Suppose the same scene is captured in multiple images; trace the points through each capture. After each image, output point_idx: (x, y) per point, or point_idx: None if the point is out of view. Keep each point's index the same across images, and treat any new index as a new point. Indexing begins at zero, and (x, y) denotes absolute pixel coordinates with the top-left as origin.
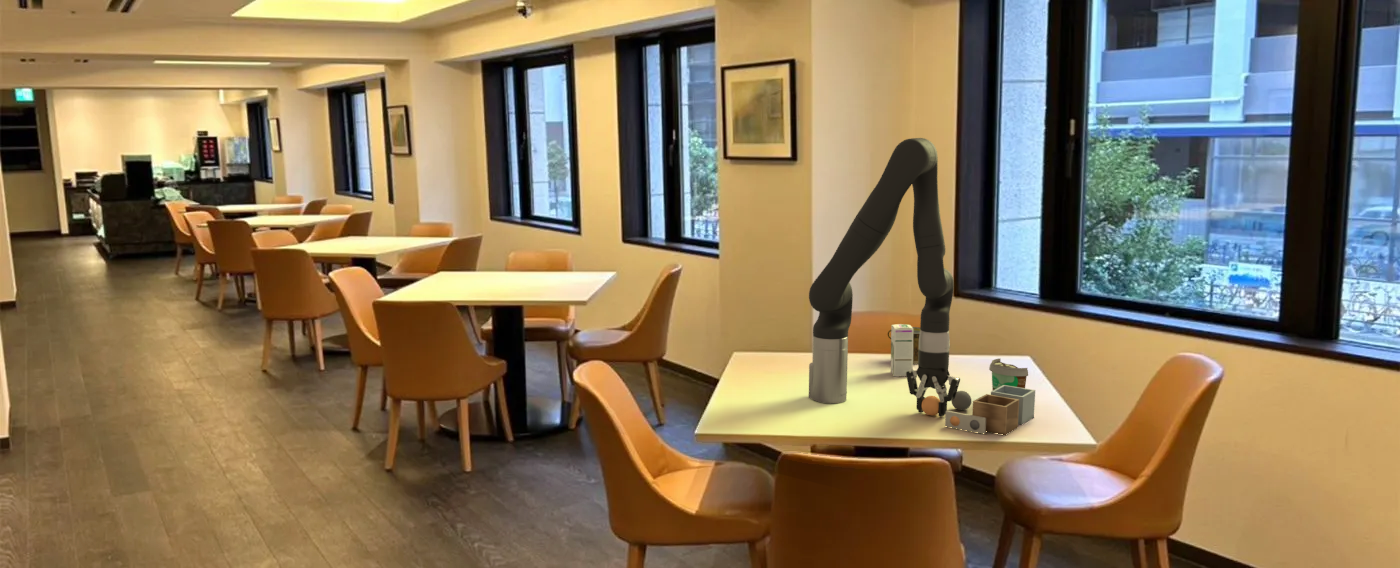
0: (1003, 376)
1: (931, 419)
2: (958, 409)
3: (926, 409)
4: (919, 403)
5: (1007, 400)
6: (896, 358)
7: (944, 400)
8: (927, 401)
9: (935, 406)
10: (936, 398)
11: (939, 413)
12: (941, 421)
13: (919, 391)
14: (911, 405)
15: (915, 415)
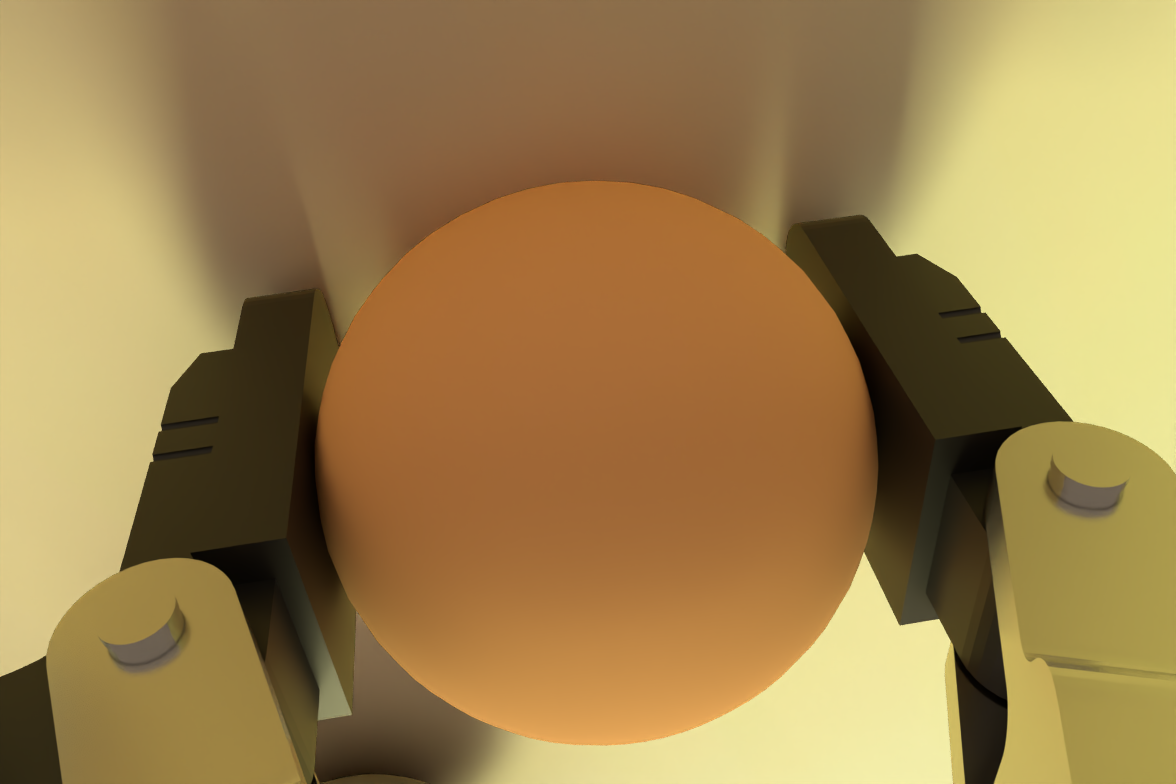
0: None
1: (350, 23)
2: (355, 775)
3: (597, 194)
4: (919, 334)
5: None
6: None
7: (54, 652)
8: (644, 381)
9: (361, 375)
10: (464, 658)
11: (285, 322)
12: (40, 54)
13: (1141, 620)
14: None
15: (851, 40)
